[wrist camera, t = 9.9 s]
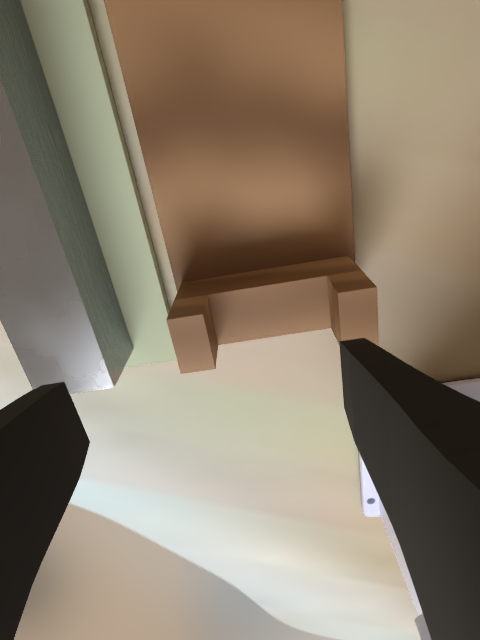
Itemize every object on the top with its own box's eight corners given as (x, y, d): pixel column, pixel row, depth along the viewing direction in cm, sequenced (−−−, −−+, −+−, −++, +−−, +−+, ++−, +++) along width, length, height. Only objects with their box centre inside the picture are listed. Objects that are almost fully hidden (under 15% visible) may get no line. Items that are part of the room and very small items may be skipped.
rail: (133, 348, 20) (113, 387, 17) (68, 358, 21) (37, 398, 17) (-22, -129, 13) (-108, -216, 10) (-121, -104, 13) (-236, -181, 10)
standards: (353, 311, 20) (386, 361, 15) (192, 335, 21) (178, 391, 16) (325, -198, 13) (373, -387, 8) (75, -136, 13) (-12, -280, 9)
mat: (181, 354, 21) (179, 360, 21) (39, 375, 22) (34, 381, 21) (41, -173, 13) (32, -186, 12) (-182, -116, 13) (-200, -126, 13)
